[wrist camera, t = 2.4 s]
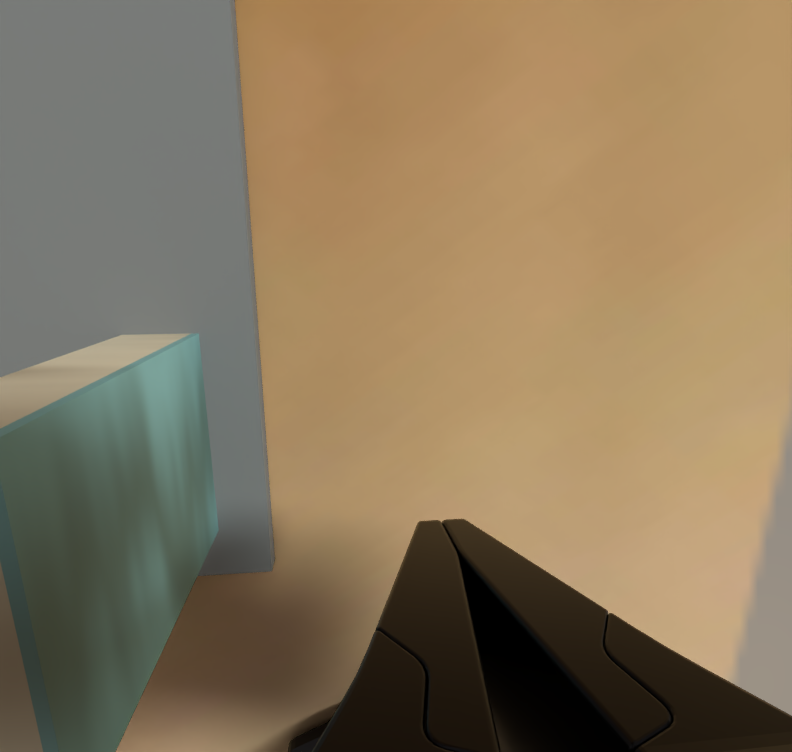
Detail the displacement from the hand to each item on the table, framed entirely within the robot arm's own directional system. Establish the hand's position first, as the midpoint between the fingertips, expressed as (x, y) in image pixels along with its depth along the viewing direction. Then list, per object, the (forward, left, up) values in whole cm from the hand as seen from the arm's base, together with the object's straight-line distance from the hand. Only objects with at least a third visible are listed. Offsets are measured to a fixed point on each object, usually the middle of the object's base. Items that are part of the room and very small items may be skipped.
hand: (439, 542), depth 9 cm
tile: (+3, +6, -6) cm, 9 cm away
